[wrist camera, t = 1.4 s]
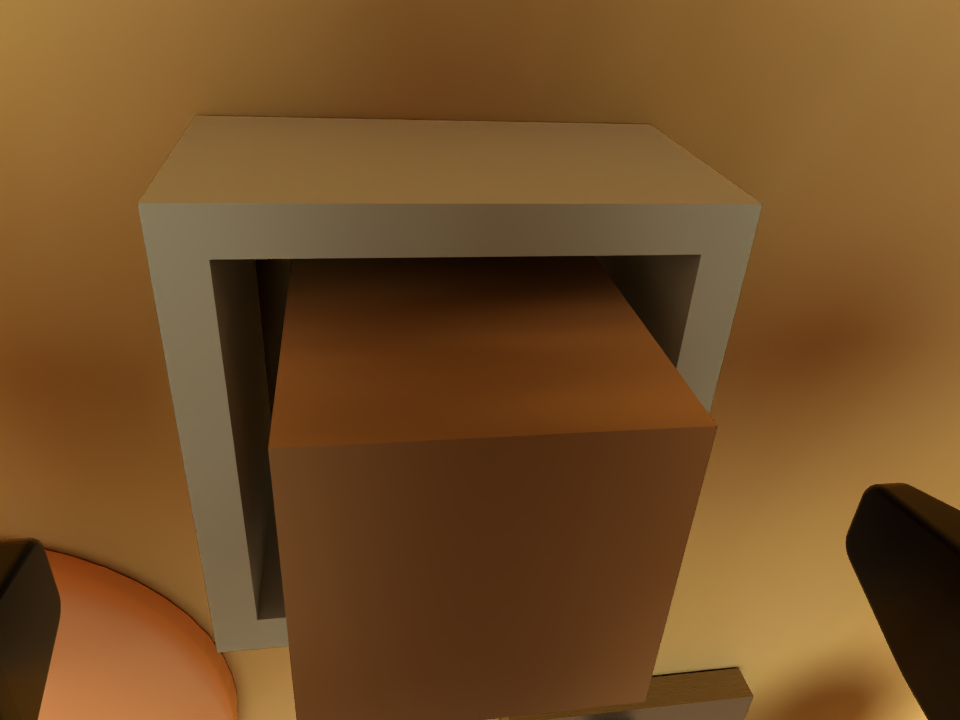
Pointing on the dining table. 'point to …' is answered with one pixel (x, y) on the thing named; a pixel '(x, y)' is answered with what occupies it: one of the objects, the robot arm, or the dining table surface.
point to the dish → (129, 653)
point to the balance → (673, 700)
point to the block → (476, 487)
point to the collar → (402, 234)
